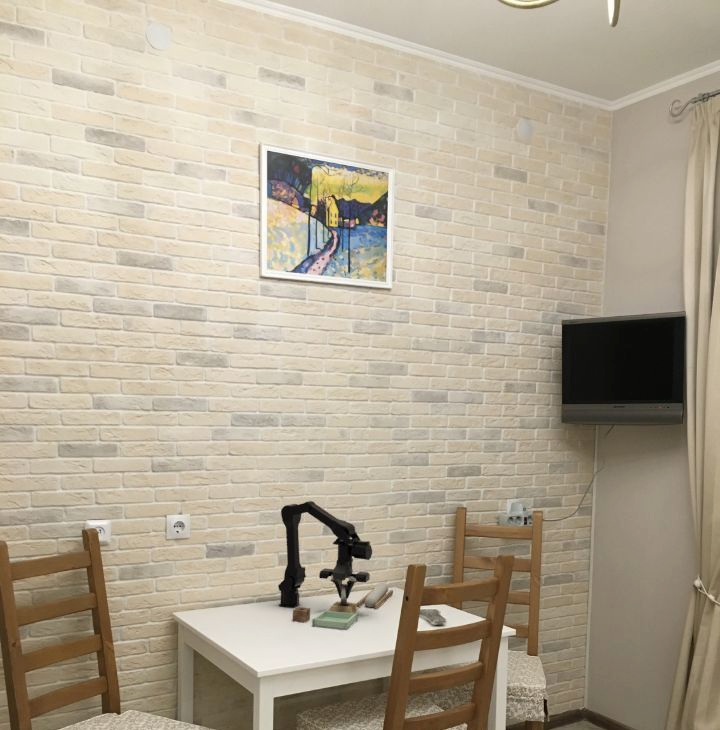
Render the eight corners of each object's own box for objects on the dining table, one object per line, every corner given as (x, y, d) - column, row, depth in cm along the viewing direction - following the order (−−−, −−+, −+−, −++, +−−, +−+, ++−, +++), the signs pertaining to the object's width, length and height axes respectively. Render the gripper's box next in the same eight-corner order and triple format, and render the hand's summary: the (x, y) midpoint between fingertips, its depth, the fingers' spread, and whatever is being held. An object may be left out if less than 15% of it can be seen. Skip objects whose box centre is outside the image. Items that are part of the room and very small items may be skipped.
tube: (377, 599, 308) (390, 585, 332) (365, 594, 309) (378, 580, 334) (373, 612, 308) (386, 596, 333) (361, 606, 310) (374, 591, 334)
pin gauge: (339, 605, 299) (340, 584, 299) (341, 604, 301) (342, 583, 301) (345, 606, 298) (346, 585, 298) (347, 605, 300) (348, 583, 301)
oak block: (330, 615, 297) (330, 606, 297) (337, 610, 304) (337, 601, 305) (350, 617, 294) (350, 608, 295) (356, 612, 302) (356, 603, 302)
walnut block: (292, 621, 288) (292, 610, 288) (297, 617, 293) (297, 606, 293) (305, 622, 286) (305, 611, 287) (309, 619, 291) (310, 608, 291)
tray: (312, 626, 282) (312, 619, 282) (324, 617, 294) (324, 610, 294) (346, 630, 278) (346, 623, 278) (357, 620, 291) (357, 613, 291)
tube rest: (356, 607, 309) (356, 602, 310) (374, 592, 334) (374, 588, 334) (376, 609, 307) (376, 604, 307) (392, 594, 332) (393, 590, 332)
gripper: (315, 558, 295) (313, 600, 295) (362, 562, 290) (361, 605, 289) (324, 553, 306) (323, 593, 305) (370, 557, 301) (369, 598, 300)
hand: (343, 598), depth 300 cm, fingers closed on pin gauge, 2 cm apart
